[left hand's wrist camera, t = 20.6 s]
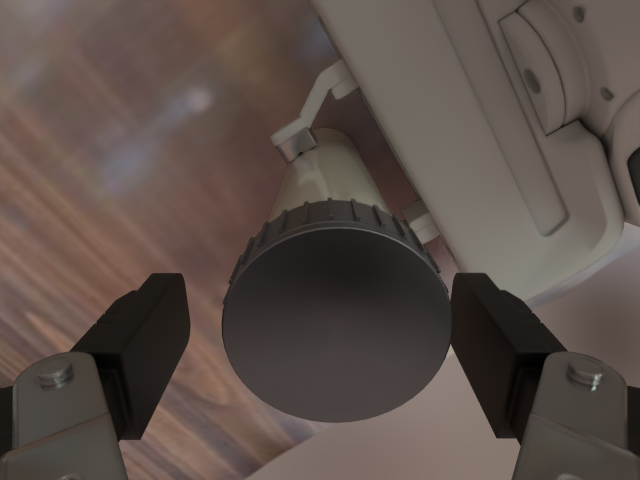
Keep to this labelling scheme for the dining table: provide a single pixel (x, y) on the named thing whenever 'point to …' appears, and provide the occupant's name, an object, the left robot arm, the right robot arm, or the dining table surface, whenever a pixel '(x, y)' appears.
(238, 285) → the lid
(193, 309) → the dining table surface
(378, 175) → the dining table surface
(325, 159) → the bottle
